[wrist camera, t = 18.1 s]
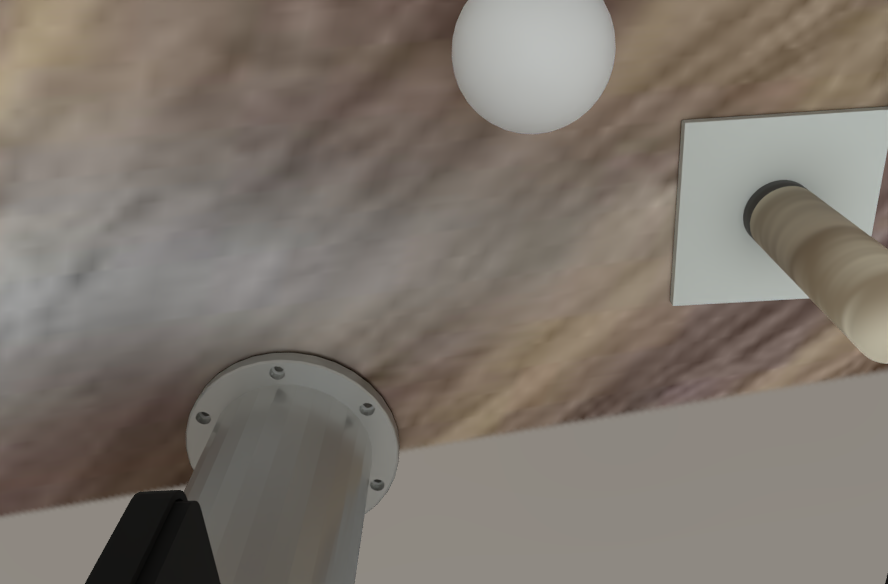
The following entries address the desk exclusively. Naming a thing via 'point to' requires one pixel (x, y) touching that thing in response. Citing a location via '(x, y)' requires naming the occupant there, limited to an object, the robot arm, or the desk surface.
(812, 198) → the beige cylinder
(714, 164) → the mat
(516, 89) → the lightbulb
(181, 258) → the desk surface
